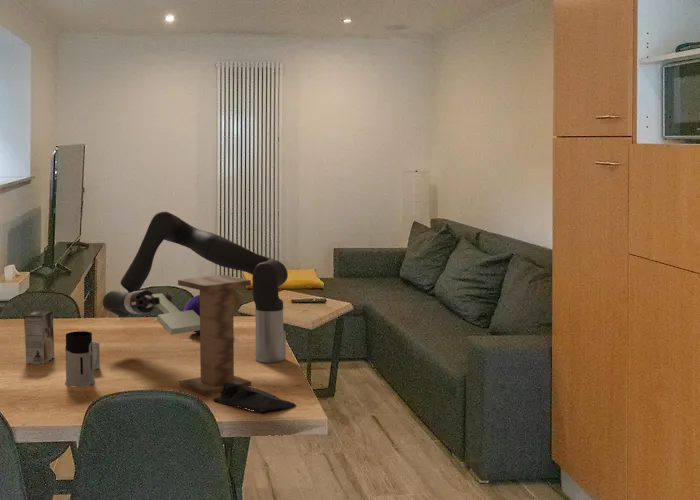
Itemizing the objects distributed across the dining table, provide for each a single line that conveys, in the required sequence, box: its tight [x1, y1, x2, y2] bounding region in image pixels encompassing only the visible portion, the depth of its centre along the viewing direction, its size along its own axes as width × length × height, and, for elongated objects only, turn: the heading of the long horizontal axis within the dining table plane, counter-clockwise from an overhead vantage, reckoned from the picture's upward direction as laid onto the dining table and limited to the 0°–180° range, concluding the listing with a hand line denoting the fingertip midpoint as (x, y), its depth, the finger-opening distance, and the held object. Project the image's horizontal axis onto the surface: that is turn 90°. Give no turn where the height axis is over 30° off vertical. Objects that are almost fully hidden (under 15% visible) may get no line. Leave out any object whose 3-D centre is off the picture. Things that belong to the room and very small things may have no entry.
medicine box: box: [92, 340, 101, 370], centre depth 279 cm, size 8×4×9 cm, turn 130°
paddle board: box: [152, 292, 200, 336], centre depth 273 cm, size 12×22×2 cm, turn 40°
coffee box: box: [23, 310, 55, 365], centre depth 289 cm, size 9×6×16 cm
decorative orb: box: [183, 294, 200, 335], centre depth 332 cm, size 15×15×15 cm
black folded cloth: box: [213, 382, 296, 413], centre depth 246 cm, size 15×22×5 cm
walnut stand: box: [177, 274, 252, 397], centre depth 260 cm, size 16×14×32 cm
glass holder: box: [64, 330, 100, 387], centre depth 262 cm, size 9×14×15 cm, turn 51°
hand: (164, 299), depth 277 cm, fingers closed on paddle board, 3 cm apart
